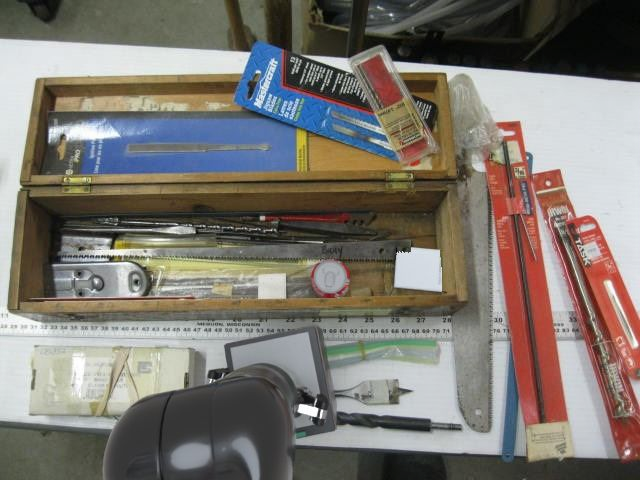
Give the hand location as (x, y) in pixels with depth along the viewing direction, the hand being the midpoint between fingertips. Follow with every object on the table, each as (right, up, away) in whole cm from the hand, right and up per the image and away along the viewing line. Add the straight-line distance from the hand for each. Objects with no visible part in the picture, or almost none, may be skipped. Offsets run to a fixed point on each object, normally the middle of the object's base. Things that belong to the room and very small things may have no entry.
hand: (276, 388), depth 58 cm
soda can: (+8, +10, +31) cm, 34 cm away
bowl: (0, 0, +1) cm, 1 cm away
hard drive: (+27, +13, +31) cm, 43 cm away
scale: (0, -1, +3) cm, 4 cm away
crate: (+1, -6, +28) cm, 29 cm away
